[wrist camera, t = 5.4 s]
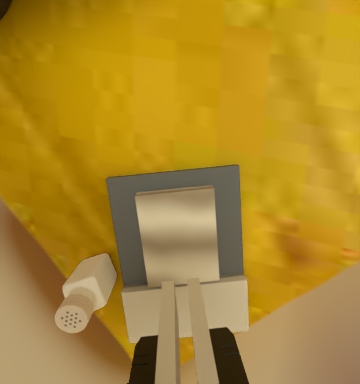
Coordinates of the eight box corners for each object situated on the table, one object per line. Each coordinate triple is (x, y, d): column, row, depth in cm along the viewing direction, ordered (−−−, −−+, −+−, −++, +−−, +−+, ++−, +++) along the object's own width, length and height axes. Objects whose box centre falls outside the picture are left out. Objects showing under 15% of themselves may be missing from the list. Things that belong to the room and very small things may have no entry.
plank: (136, 192, 28) (134, 196, 27) (211, 185, 29) (214, 188, 27) (149, 279, 32) (148, 287, 30) (217, 272, 32) (219, 280, 30)
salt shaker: (119, 275, 33) (98, 330, 23) (91, 284, 33) (60, 342, 23) (108, 250, 32) (82, 296, 22) (80, 258, 32) (42, 308, 23)
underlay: (108, 177, 30) (102, 180, 27) (236, 164, 30) (242, 167, 27) (132, 328, 34) (129, 343, 32) (243, 316, 35) (249, 330, 32)
